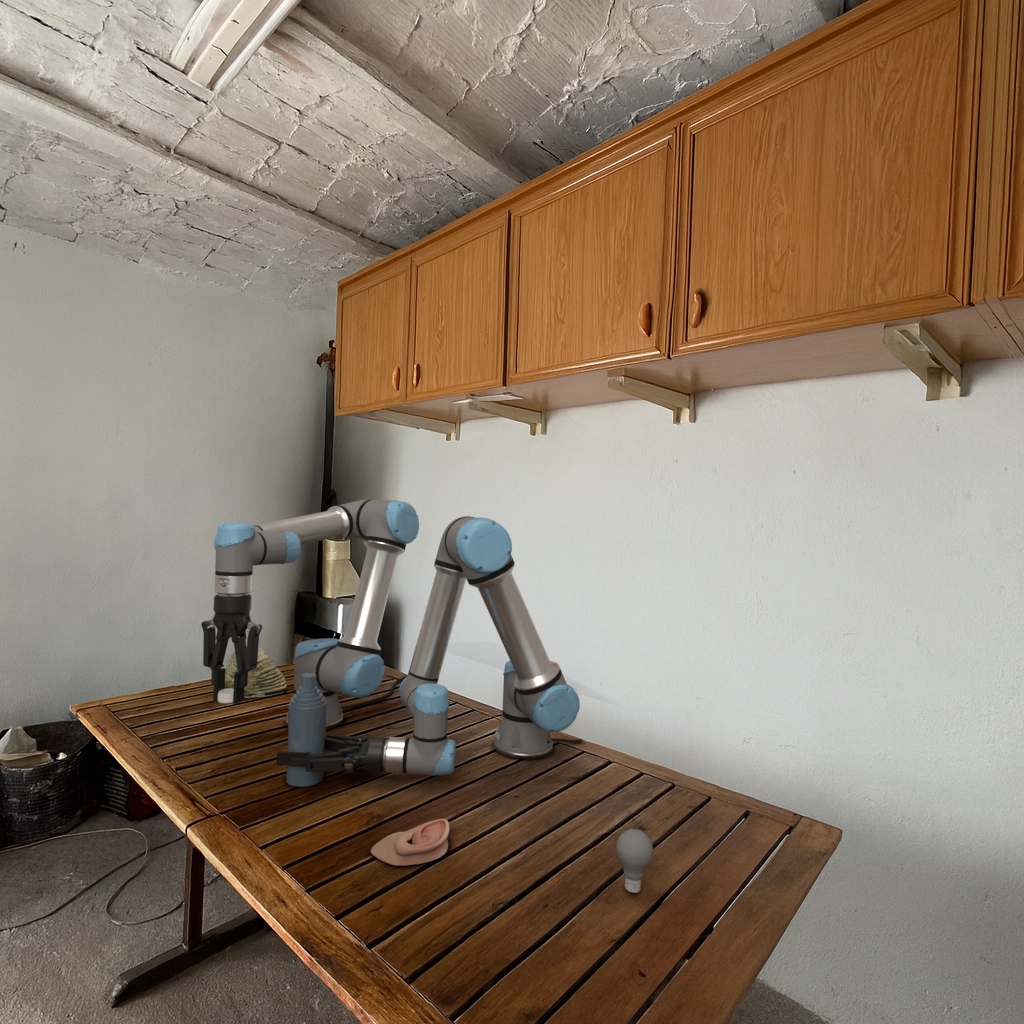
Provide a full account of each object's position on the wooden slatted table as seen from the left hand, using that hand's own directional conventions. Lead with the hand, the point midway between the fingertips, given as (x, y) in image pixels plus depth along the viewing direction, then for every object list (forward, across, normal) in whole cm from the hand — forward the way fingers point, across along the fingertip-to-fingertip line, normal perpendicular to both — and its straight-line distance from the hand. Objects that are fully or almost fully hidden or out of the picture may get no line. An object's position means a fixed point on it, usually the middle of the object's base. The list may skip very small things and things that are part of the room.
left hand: (228, 700), depth 138 cm
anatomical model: (+18, +48, -14) cm, 53 cm away
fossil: (+18, -30, +55) cm, 65 cm away
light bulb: (+18, +88, -15) cm, 91 cm away
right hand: (+12, +11, +6) cm, 17 cm away
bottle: (+18, +15, +7) cm, 25 cm away
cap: (-2, 0, 0) cm, 2 cm away
